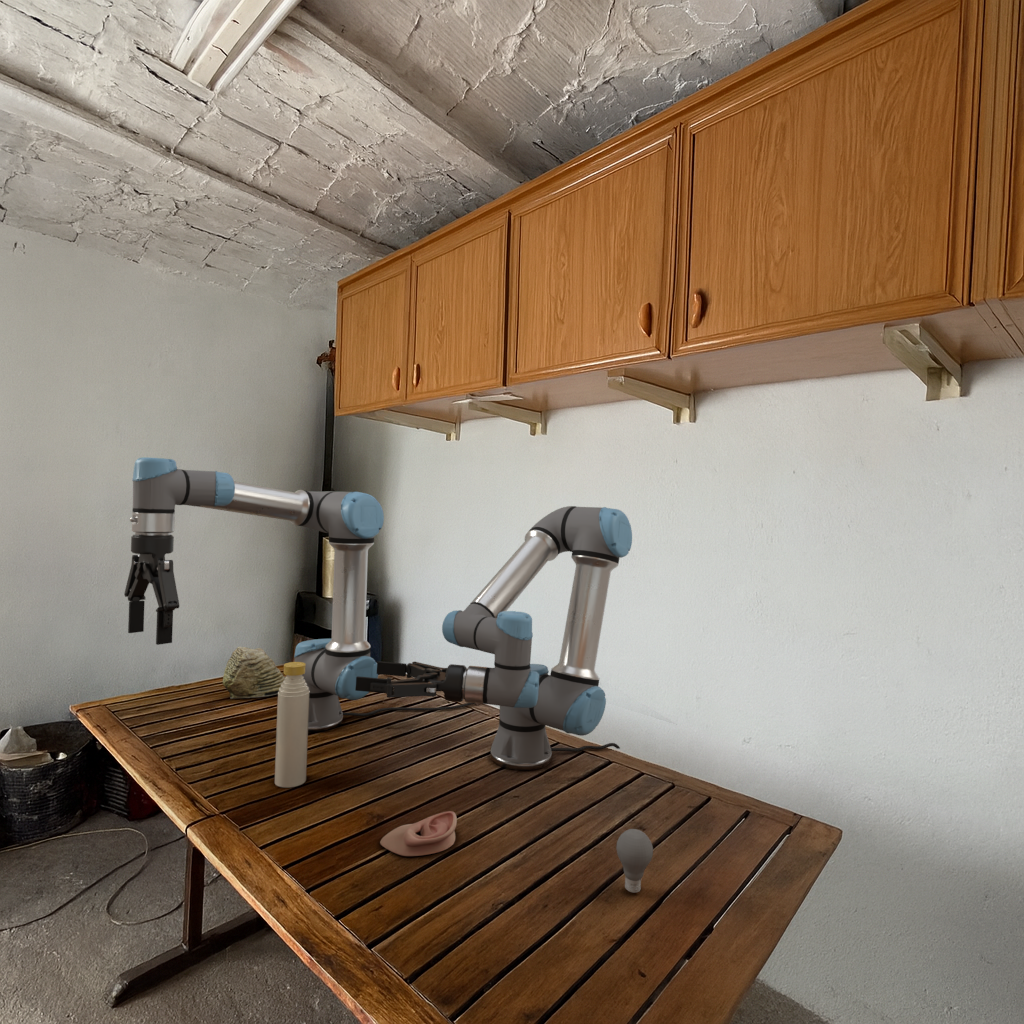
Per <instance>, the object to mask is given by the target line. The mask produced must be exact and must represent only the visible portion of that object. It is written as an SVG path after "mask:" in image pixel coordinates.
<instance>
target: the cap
mask: <svg viewBox="0 0 1024 1024" xmlns="http://www.w3.org/2000/svg"><path fill="white" fill-rule="evenodd" d="M305 668H306V664H305V663H303V662H295V661H290V662H286V663H284V664H283V675H284V676H286V675H288V676H297V675H302V674H304V673H305Z"/></svg>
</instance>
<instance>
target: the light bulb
mask: <svg viewBox="0 0 1024 1024" xmlns="http://www.w3.org/2000/svg"><path fill="white" fill-rule="evenodd" d="M615 849H616V854H617V857H618V859H619V861H620V863H621V865H622V867H623V873H624V874H623V875H624V876H625V878H624V888H625V890H627V891H628V892H630V893H634V894H635V893H639V892H640V891H641V889H642V887H641V886H642V879H643V877H644V875H645V871H646V868H647V867H648V866H649V864H650V863H651V861H652V859H653V855H654V847H653V843H652V841H651V838H649V836H648V835H647V834H646V833H645V832H643V831H642V830H641V829H636V828H629V829H627V830H625V831H623V832H622V833H621V834H620V835H619V837H618V839H617V841H616V847H615Z"/></svg>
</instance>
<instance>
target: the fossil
mask: <svg viewBox="0 0 1024 1024" xmlns="http://www.w3.org/2000/svg"><path fill="white" fill-rule="evenodd" d="M222 676H223V677H222V685H223V687H224V688H225V690H226V691H228V693H229V698H230V699H250V698H264V697H271V696H275V695H278V692H279V688H280V687H281V684H283V681H284V680H285V677H286V676H285V675H284V674H283V672H281V669H279V668H278V667H277V665H276V663H275V662H274V660H273V659H272V658H271V657H270V656H269V655H268V654H267V653H266V652H265V650H264V649H263V648H260V647H258V648H251V647H247V646H246V647H245V646H238V647H237V648H236V649H235V650H233V651H232V653H231V656H230V657H229V659H228V660H227V663H226V666H225V668H224V671H223V675H222Z"/></svg>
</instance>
